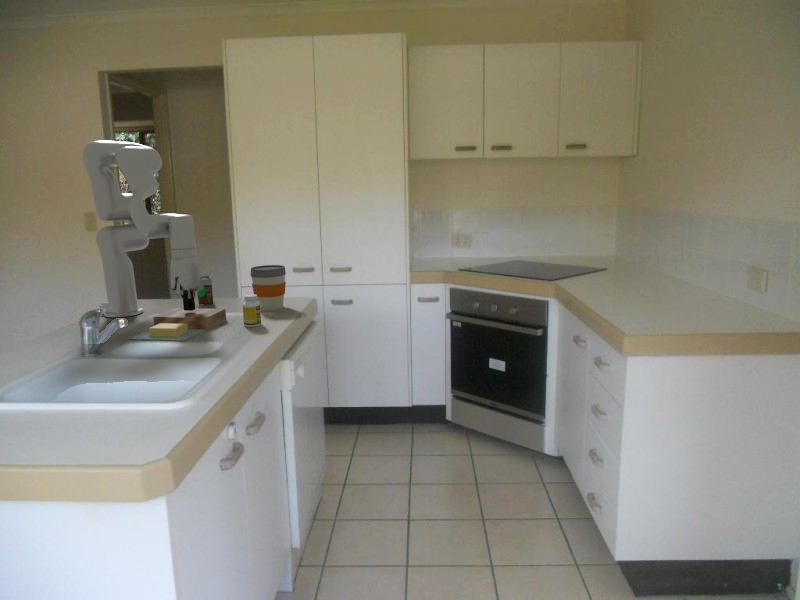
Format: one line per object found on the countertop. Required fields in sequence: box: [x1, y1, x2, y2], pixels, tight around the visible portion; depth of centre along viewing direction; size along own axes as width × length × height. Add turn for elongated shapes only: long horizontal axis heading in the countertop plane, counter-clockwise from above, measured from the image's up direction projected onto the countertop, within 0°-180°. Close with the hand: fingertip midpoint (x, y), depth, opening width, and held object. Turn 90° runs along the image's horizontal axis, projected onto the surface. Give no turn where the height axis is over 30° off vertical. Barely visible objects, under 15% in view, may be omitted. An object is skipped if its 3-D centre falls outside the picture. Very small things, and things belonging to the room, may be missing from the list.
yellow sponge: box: [148, 323, 188, 337], centre depth 171 cm, size 9×6×2 cm, turn 81°
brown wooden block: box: [152, 307, 227, 331], centre depth 183 cm, size 18×13×4 cm
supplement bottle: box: [242, 293, 262, 328], centre depth 180 cm, size 5×5×10 cm
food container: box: [196, 275, 214, 306], centre depth 217 cm, size 12×6×10 cm, turn 23°
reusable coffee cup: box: [250, 264, 287, 311], centre depth 205 cm, size 13×12×15 cm
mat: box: [128, 329, 207, 342], centre depth 171 cm, size 18×12×1 cm, turn 80°
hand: (189, 309), depth 183 cm, fingers closed
